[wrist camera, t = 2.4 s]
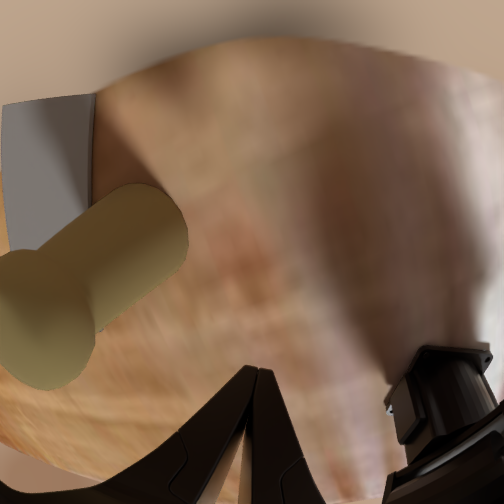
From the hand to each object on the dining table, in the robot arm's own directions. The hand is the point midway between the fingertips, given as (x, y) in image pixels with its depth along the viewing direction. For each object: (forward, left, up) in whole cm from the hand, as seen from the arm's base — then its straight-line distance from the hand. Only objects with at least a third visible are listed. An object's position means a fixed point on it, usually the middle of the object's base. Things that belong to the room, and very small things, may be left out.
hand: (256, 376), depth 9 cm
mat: (+16, 0, -8) cm, 18 cm away
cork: (+8, 0, -9) cm, 12 cm away
